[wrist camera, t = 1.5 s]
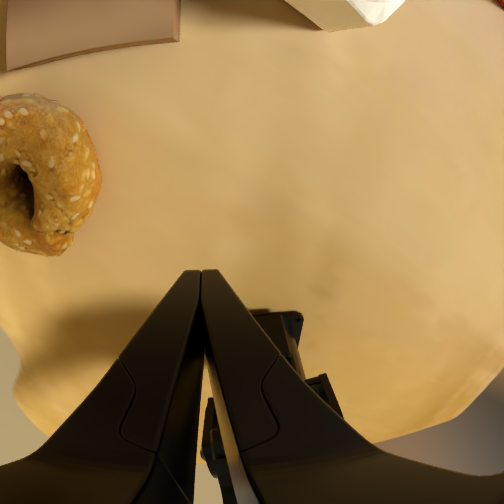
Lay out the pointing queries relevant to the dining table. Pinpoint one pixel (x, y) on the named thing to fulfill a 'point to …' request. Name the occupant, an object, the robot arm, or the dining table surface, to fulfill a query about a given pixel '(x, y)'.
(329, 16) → the pepper shaker
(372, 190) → the dining table surface
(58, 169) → the bagel
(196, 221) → the dining table surface
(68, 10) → the walnut block
